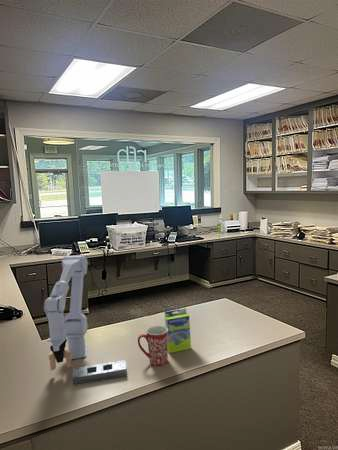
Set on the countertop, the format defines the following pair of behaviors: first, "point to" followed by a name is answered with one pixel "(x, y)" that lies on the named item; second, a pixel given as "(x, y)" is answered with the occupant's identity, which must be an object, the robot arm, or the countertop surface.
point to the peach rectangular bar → (66, 355)
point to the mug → (156, 345)
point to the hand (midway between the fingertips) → (60, 360)
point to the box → (178, 330)
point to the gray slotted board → (99, 372)
